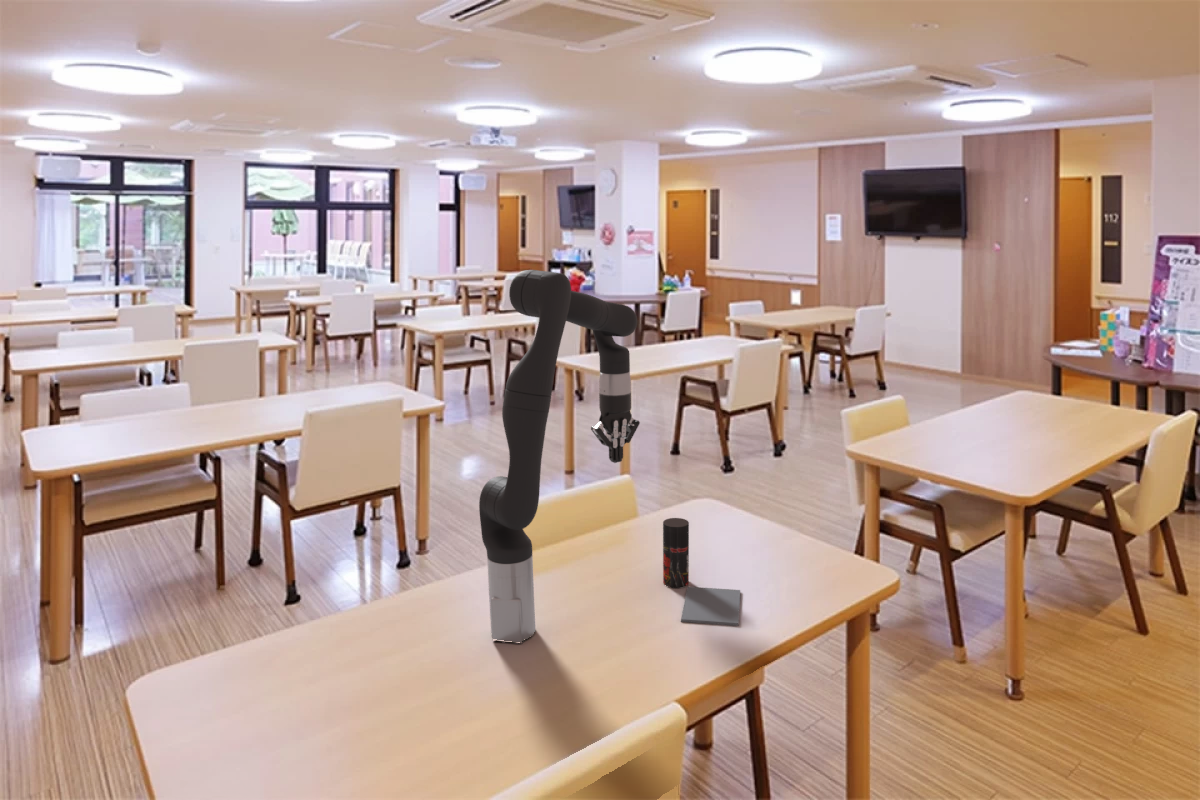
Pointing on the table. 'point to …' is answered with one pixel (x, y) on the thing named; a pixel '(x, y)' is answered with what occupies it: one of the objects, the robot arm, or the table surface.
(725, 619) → the mat
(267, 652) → the table surface
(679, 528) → the deodorant
